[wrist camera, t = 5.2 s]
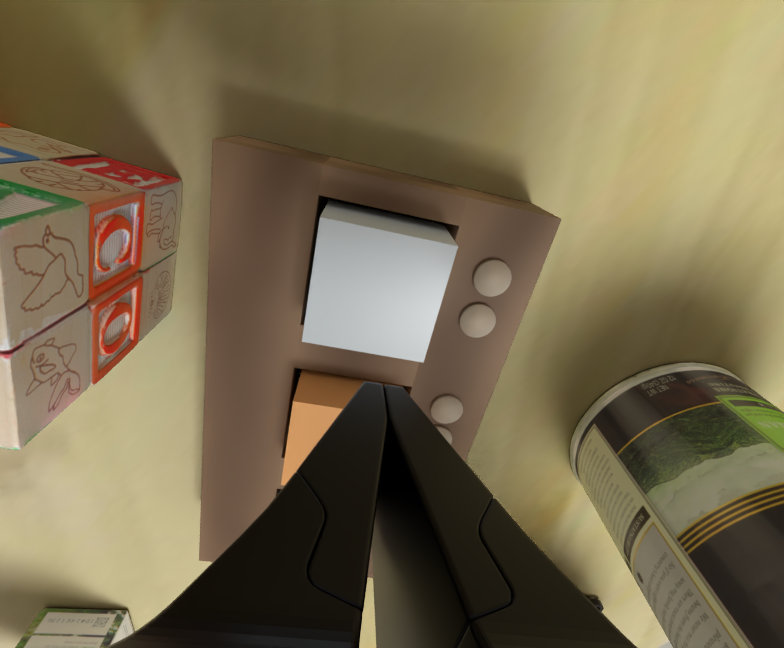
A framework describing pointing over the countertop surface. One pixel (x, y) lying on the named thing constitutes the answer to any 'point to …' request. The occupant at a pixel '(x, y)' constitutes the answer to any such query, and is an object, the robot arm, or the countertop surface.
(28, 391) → the stack of blocks
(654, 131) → the countertop surface
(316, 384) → the three dot button
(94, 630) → the syrup box
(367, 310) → the light grey block
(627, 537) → the coffee can
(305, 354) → the walnut button panel
